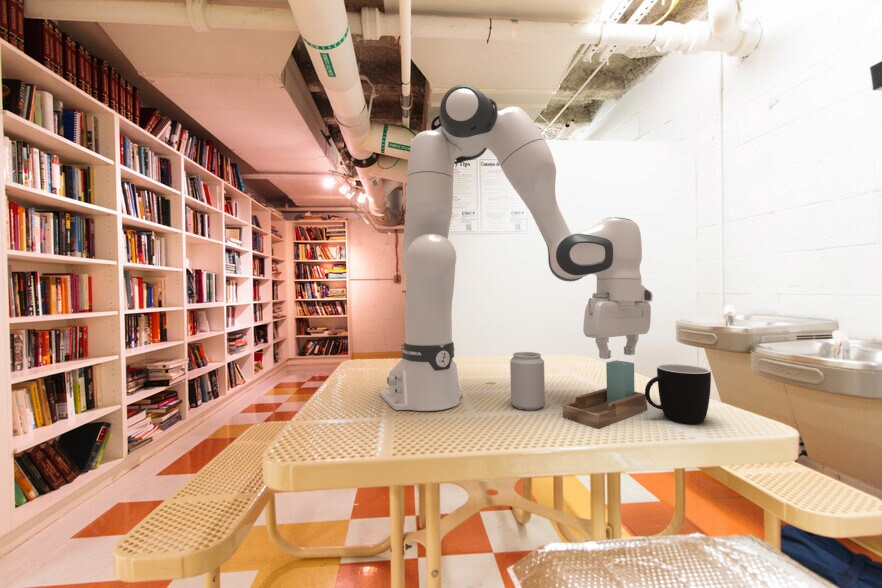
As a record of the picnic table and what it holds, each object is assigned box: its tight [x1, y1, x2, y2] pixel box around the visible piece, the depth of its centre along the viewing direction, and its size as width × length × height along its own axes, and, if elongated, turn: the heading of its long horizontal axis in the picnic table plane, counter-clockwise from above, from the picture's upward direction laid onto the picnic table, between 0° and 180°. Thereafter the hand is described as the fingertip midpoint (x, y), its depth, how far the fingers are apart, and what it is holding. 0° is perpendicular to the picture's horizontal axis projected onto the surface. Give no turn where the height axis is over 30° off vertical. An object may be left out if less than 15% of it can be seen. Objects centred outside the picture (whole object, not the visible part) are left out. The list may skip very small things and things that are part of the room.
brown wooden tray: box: [562, 387, 648, 430], centre depth 78 cm, size 8×18×4 cm, turn 124°
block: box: [605, 359, 636, 404], centre depth 81 cm, size 4×4×9 cm
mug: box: [644, 363, 712, 425], centre depth 74 cm, size 12×9×10 cm
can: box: [509, 351, 546, 411], centre depth 84 cm, size 8×8×12 cm
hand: (617, 356), depth 81 cm, fingers open, 8 cm apart
